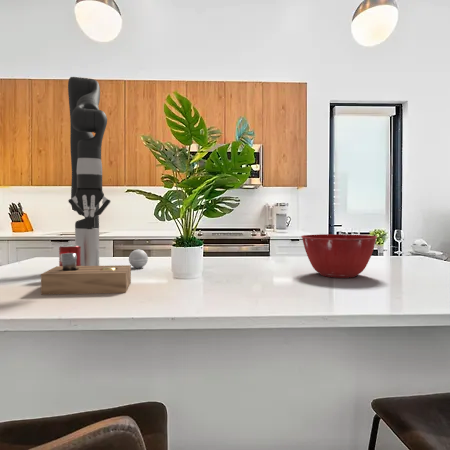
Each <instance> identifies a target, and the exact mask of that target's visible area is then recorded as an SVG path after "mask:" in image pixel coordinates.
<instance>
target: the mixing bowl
mask: <svg viewBox="0 0 450 450" xmlns="http://www.w3.org/2000/svg"><path fill="white" fill-rule="evenodd" d="M300 237H301V239H302V243H303V246H304V250H305V253H306V256H307V258H308V260H309V261H308V262H310V265H311V266H312V268H313V269H314V270H315V271H316V273H319V274H320V276H322V277H327V278H335V279H337V278H338V279H339V278H340V279H345V278H346V279H348V278H349V277H350V278H356V277H357V275H360V274H361V273H362V272H363V271H365V270H366V267H367V265H368V264H369V262H370V259H371V257H372V255H373V252H374V249H375V245H376V241H377V238H378V236H376V235H371V234H370V235H367V234H342V233H340V234H339V233H338V234H336V233H335V234H334V233H332V234H328V233H327V234H323V233H322V234H321V233H319V234H304V235H301V236H300ZM350 278H349V279H350Z"/></svg>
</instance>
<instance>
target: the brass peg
mask: <svg viewBox="0 0 450 450" xmlns="http://www.w3.org/2000/svg"><path fill="white" fill-rule="evenodd" d="M103 270H116V268H115V267H105V268H103Z"/></svg>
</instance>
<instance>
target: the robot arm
mask: <svg viewBox="0 0 450 450" xmlns="http://www.w3.org/2000/svg"><path fill="white" fill-rule="evenodd" d="M67 92H68V93H67V95H68V106H69V107H68V108H69V120H70V122H69V123H70V135H69V136H70V144H69V145H70V147H69V148H70V161H71V162H70V164H71V165H70V166H71V187H70V188H71V189H70V192H71V193H70V198H69V199H68V201H67V202H68V203H69V204H70V205H71V208H72V210H73V211H74V212H76V213H77V214H78V215H79V216H83V217H84V218H82V219H78V220H76V221H75V224H74V229H75V230H74V235H75V236H74V239H75V241H74V245H80V246H81V266H100V215H102V213H103V212H104V211H105V210H106V209H107V207H108V206H109V205H110V204H111V200H110V199H108V198H107V197H106V196H105V194H104V192H103V191H104V190H103V163H102V144H103V139H104V138H103V137H104V136H105V135H104V134H105V132H106V129H107V124H108V117H107V114H106V113H105V111H104V110H100V108H99V104H100V99H101V89H100V84H99V81H98V80H96V79H93V78H87V77H80V76H79V77H77V76H70V77H69V79H68V82H67ZM93 133H95V134H93ZM100 203H101V206H100Z"/></svg>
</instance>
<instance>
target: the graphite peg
mask: <svg viewBox="0 0 450 450" xmlns="http://www.w3.org/2000/svg"><path fill="white" fill-rule="evenodd" d="M62 260H63V271H76V253H64V254H62Z"/></svg>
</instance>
